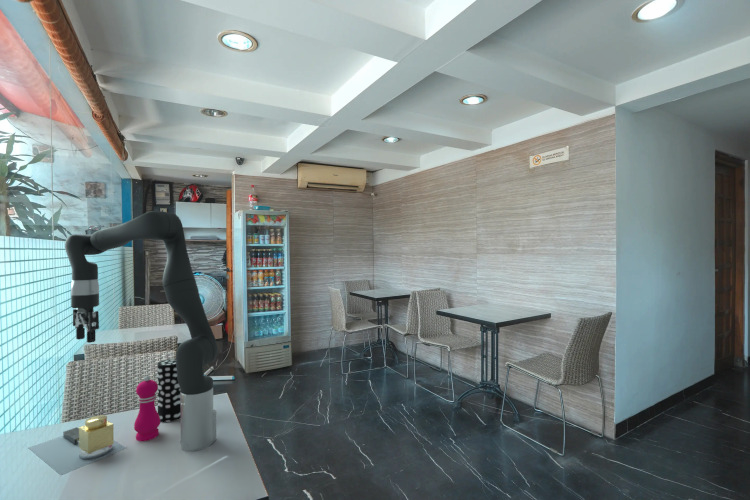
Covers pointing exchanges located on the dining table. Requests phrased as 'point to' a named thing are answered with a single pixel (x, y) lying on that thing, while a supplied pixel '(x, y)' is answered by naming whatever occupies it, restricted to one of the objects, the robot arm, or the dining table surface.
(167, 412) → the spotted tube
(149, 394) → the pepper mill
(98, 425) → the brass knob block
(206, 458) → the dining table surface
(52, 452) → the mat
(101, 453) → the metal ladle
